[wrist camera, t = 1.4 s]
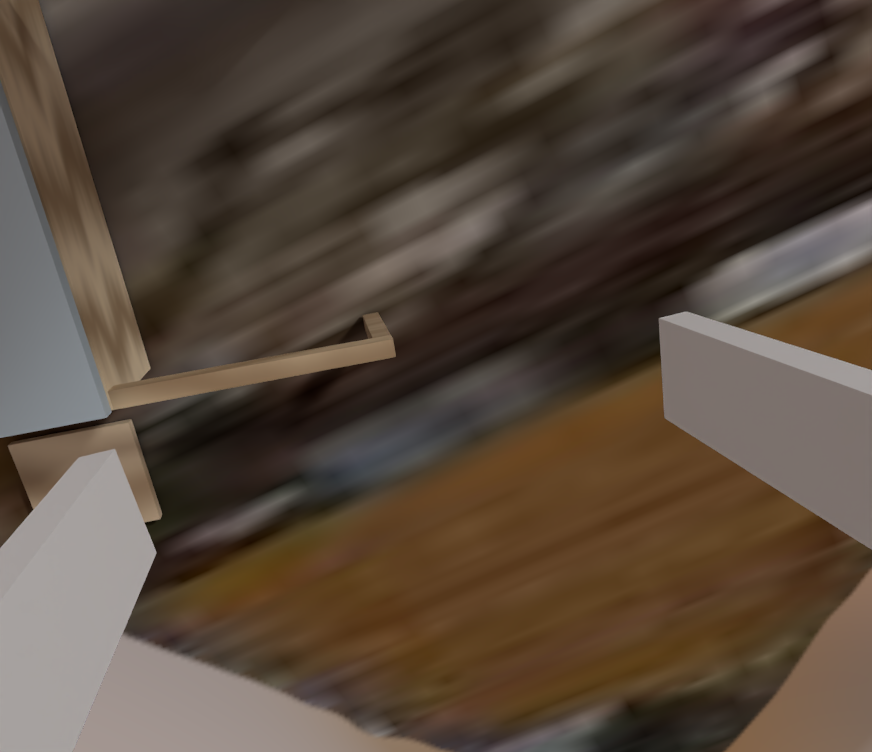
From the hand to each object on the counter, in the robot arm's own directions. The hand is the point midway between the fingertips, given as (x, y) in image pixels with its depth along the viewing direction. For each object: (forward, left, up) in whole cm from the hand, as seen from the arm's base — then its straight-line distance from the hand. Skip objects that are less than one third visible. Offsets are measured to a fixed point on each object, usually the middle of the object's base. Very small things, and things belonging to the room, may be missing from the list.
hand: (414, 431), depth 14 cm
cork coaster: (+10, -18, -25) cm, 33 cm away
